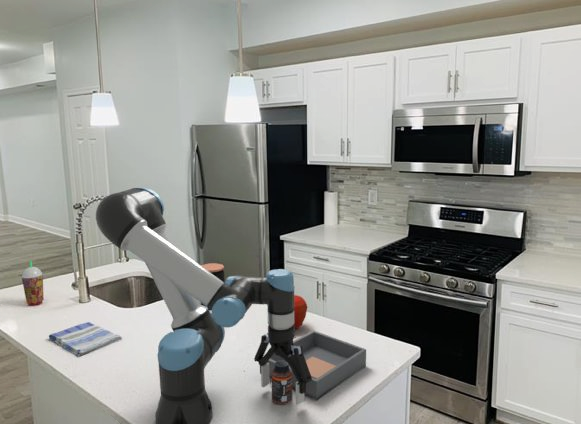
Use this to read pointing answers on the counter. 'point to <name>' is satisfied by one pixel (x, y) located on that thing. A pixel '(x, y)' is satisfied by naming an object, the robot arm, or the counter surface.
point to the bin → (325, 362)
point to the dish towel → (84, 338)
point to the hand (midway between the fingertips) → (282, 393)
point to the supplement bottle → (281, 383)
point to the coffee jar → (215, 271)
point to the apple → (299, 311)
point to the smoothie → (33, 285)
